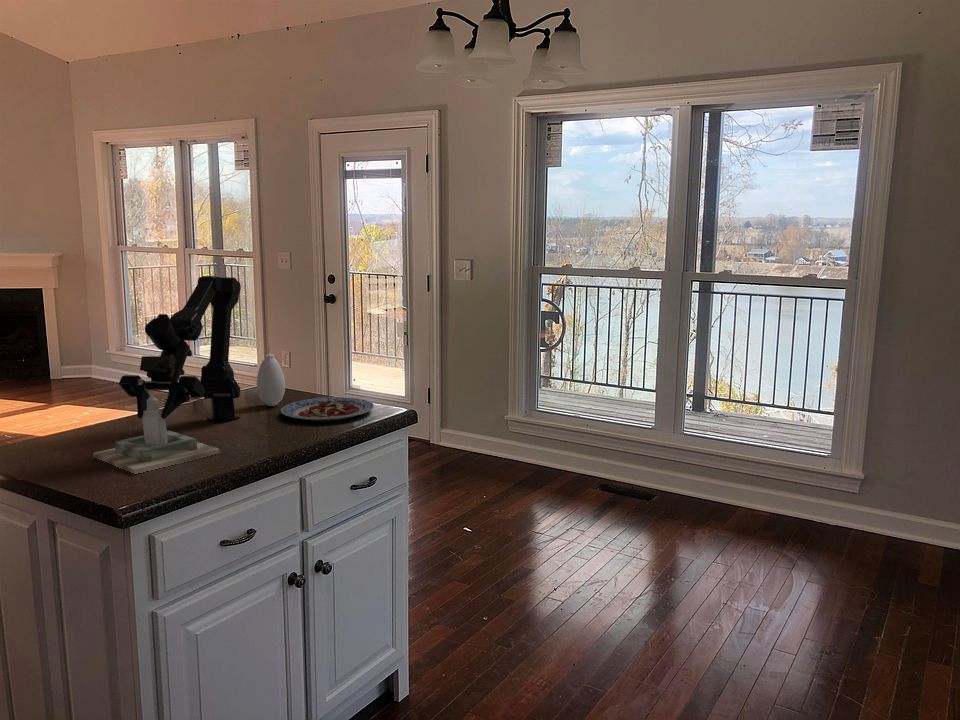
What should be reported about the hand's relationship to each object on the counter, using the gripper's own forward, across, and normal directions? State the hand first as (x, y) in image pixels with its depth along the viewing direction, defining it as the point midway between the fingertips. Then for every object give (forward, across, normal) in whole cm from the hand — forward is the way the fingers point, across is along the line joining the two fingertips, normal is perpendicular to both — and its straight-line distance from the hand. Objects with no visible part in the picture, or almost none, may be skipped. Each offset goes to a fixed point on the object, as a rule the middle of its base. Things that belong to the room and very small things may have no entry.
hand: (150, 417), depth 175 cm
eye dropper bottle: (+4, 0, +6) cm, 7 cm away
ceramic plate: (-24, +27, +39) cm, 53 cm away
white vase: (-30, +7, +44) cm, 54 cm away
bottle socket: (+6, 0, +7) cm, 9 cm away
